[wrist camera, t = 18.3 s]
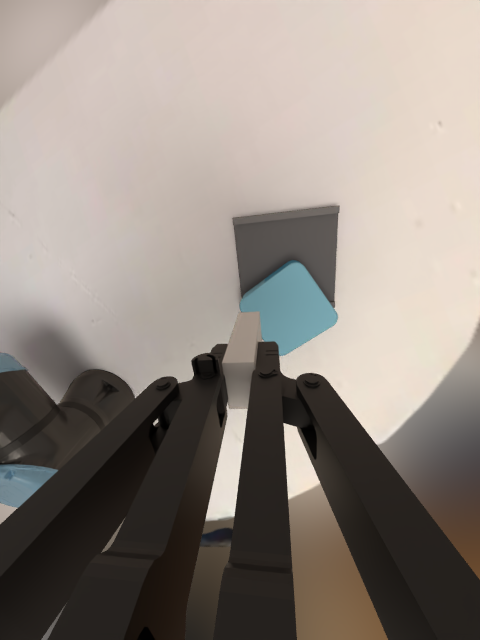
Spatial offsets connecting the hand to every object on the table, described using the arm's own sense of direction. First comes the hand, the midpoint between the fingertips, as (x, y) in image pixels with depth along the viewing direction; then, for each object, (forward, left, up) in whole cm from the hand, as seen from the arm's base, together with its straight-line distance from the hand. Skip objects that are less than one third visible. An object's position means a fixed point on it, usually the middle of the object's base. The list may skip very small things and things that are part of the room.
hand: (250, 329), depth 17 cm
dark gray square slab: (+4, 0, -26) cm, 27 cm away
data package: (0, -2, -23) cm, 23 cm away
